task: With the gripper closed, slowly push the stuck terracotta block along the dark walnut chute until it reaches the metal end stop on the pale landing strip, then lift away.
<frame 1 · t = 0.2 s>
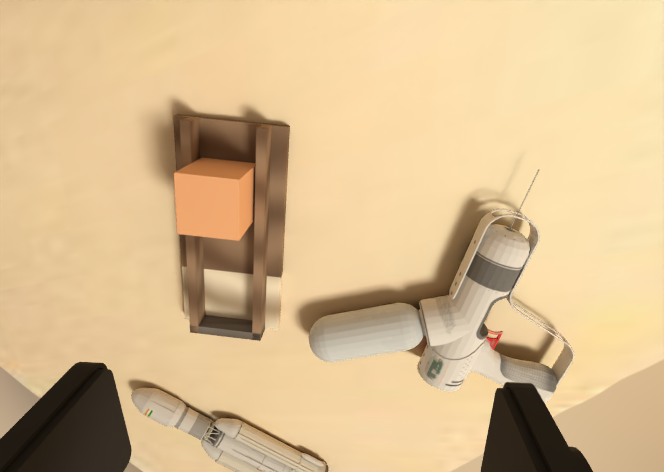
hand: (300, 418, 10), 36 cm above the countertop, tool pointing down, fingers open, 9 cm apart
gun: (458, 273, 48), on the countertop
chute: (233, 230, 48), on the countertop
block: (219, 196, 41), point 5 cm above the countertop, slide at 0.0 cm
rocket model: (231, 429, 60), on the countertop
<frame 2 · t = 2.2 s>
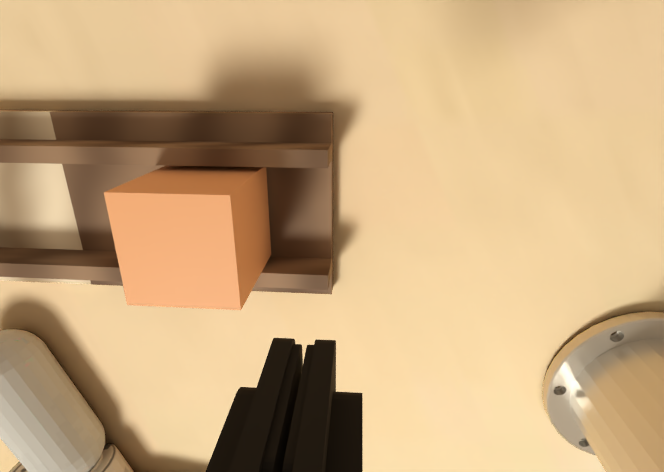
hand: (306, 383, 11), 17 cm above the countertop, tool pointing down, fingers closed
gun: (168, 471, 38), on the countertop
chute: (151, 202, 28), on the countertop
block: (202, 228, 23), point 5 cm above the countertop, slide at 0.0 cm
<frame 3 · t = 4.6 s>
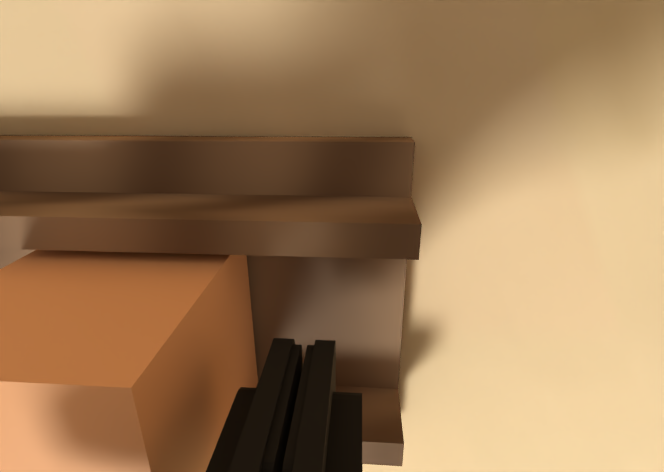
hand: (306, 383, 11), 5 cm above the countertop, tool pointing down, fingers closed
chute: (83, 289, 16), on the countertop
block: (114, 378, 11), point 5 cm above the countertop, slide at 1.3 cm, touching gripper
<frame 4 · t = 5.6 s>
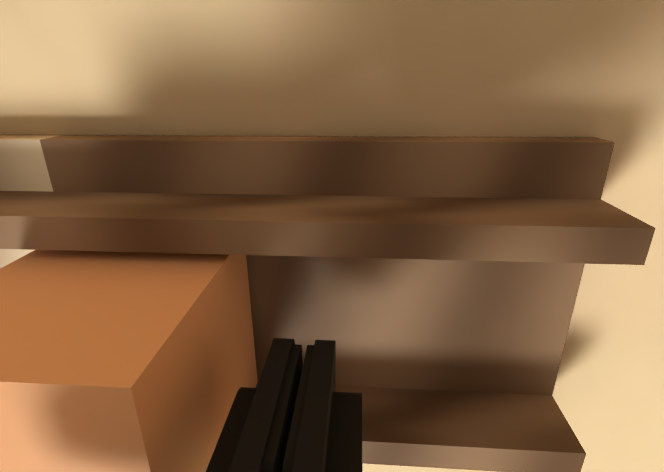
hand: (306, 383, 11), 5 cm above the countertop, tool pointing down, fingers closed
chute: (223, 294, 16), on the countertop
block: (114, 378, 11), point 5 cm above the countertop, slide at 7.1 cm, touching gripper
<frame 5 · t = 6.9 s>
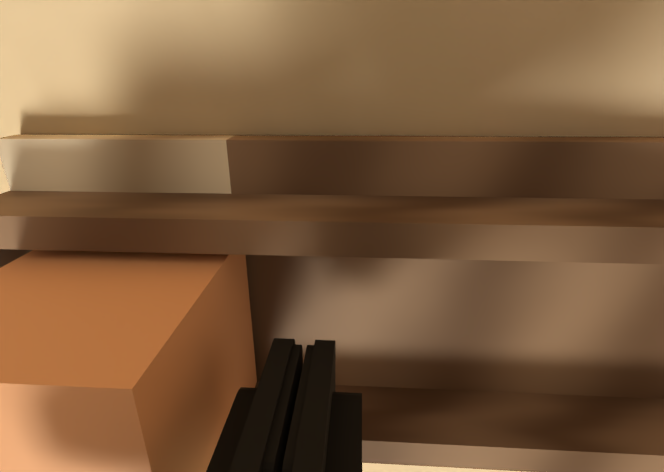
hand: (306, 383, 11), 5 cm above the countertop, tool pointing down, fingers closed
chute: (380, 298, 15), on the countertop
block: (113, 378, 11), point 5 cm above the countertop, slide at 13.1 cm, touching gripper
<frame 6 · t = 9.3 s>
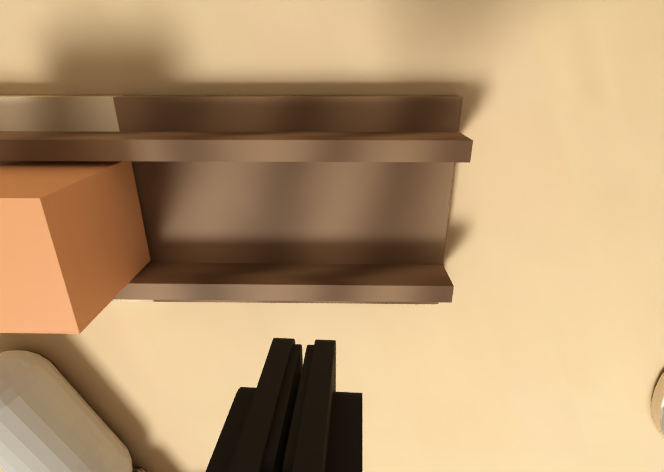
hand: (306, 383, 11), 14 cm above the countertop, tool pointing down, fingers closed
chute: (228, 204, 24), on the countertop
block: (45, 235, 19), point 5 cm above the countertop, slide at 13.0 cm
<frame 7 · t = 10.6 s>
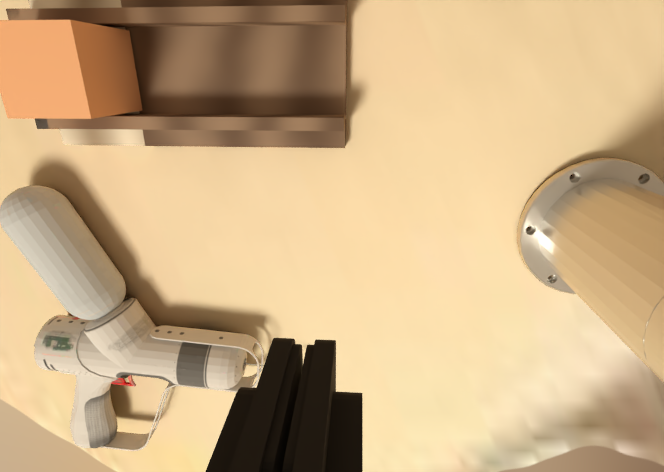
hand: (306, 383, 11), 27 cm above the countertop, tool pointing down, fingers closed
gun: (182, 323, 44), on the countertop
chute: (196, 71, 34), on the countertop
block: (72, 71, 30), point 5 cm above the countertop, slide at 13.0 cm
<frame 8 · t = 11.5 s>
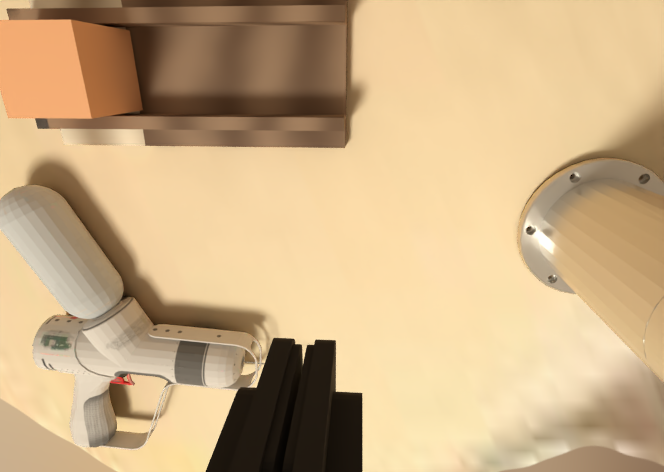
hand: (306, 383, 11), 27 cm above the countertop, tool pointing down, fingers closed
gun: (180, 322, 44), on the countertop
chute: (197, 71, 34), on the countertop
block: (73, 71, 30), point 5 cm above the countertop, slide at 13.0 cm
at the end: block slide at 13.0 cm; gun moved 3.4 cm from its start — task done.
